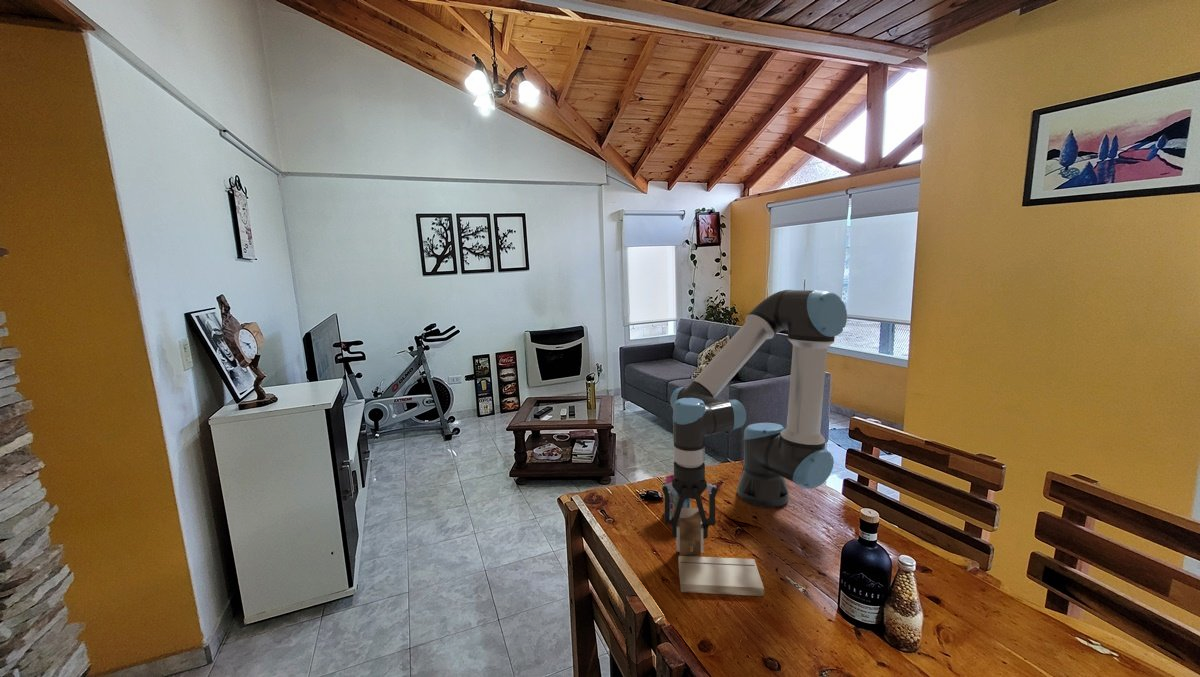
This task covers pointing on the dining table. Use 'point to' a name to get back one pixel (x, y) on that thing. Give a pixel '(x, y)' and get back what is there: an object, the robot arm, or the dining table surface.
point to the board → (719, 576)
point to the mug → (674, 496)
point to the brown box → (690, 532)
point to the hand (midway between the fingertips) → (689, 548)
